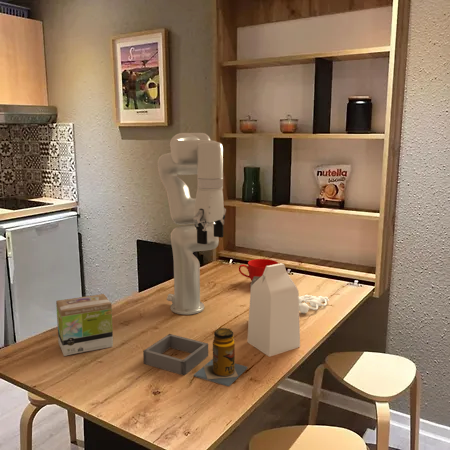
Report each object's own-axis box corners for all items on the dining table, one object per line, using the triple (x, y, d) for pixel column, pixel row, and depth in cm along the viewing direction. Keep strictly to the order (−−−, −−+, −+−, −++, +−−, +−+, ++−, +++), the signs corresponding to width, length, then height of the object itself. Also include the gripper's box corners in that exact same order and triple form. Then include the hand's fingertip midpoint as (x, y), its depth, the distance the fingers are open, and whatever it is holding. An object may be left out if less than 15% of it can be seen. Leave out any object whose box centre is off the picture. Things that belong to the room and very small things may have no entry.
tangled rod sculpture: (308, 297, 196) (308, 287, 196) (338, 304, 185) (338, 294, 185) (276, 308, 183) (276, 297, 183) (306, 316, 173) (306, 305, 172)
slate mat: (193, 376, 132) (193, 374, 132) (213, 359, 142) (213, 357, 142) (229, 386, 127) (229, 384, 127) (247, 368, 137) (247, 366, 137)
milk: (269, 356, 144) (271, 273, 138) (247, 342, 153) (248, 263, 148) (300, 347, 150) (303, 266, 144) (277, 333, 159) (279, 257, 154)
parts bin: (143, 363, 139) (143, 350, 139) (169, 345, 150) (169, 333, 150) (184, 375, 133) (183, 362, 132) (208, 355, 144) (208, 343, 143)
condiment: (238, 376, 131) (238, 335, 129) (207, 380, 129) (207, 338, 127) (232, 364, 138) (232, 324, 136) (203, 366, 136) (202, 327, 134)
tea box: (63, 357, 143) (60, 310, 140) (58, 344, 152) (54, 299, 148) (114, 347, 150) (111, 302, 147) (106, 334, 158) (103, 292, 155)
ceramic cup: (240, 279, 214) (240, 257, 212) (278, 281, 212) (279, 259, 210) (236, 289, 202) (237, 266, 199) (277, 291, 199) (278, 268, 197)
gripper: (213, 180, 152) (214, 233, 155) (183, 186, 137) (184, 244, 141) (235, 181, 148) (234, 235, 152) (206, 188, 133) (206, 248, 137)
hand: (210, 240), depth 146 cm, fingers open, 9 cm apart
